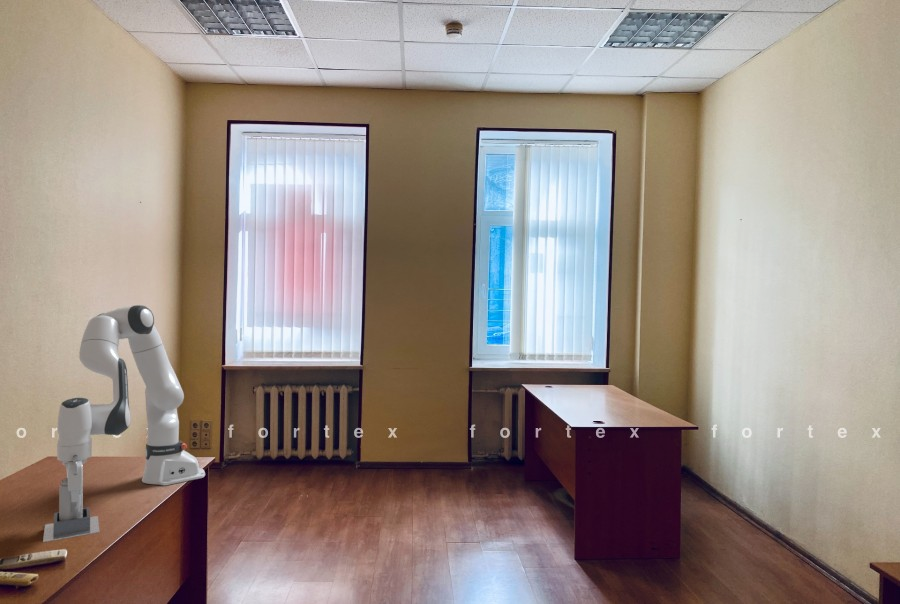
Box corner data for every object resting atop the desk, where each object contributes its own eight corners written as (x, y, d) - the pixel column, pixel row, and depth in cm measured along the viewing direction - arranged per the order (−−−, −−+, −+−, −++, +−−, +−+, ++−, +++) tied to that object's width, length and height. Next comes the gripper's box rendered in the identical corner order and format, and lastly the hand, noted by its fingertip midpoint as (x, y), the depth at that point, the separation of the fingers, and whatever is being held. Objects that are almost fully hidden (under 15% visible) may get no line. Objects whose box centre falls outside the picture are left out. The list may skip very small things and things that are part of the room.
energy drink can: (71, 523, 179) (72, 475, 178) (87, 525, 177) (87, 477, 177) (54, 530, 173) (54, 481, 173) (69, 532, 171) (70, 483, 171)
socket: (97, 518, 185) (97, 503, 185) (99, 534, 173) (99, 518, 173) (44, 527, 177) (45, 511, 177) (43, 544, 165) (43, 527, 165)
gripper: (88, 458, 168) (87, 505, 168) (85, 443, 185) (85, 485, 185) (62, 462, 165) (62, 509, 165) (62, 445, 181) (61, 489, 182)
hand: (74, 496), depth 175 cm, fingers open, 8 cm apart
